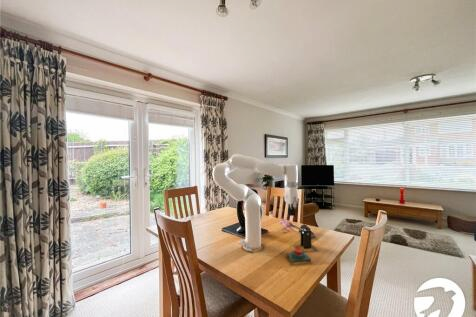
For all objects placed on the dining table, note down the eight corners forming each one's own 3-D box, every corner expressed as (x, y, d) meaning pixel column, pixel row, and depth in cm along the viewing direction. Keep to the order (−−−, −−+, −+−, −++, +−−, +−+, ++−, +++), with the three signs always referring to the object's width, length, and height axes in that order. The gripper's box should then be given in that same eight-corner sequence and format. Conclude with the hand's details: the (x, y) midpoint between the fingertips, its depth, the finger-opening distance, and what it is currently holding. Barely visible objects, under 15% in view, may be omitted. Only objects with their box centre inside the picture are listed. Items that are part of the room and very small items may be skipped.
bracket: (300, 252, 117) (300, 232, 117) (295, 246, 125) (295, 227, 125) (317, 251, 119) (316, 231, 118) (310, 245, 127) (310, 226, 126)
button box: (292, 264, 104) (292, 257, 104) (286, 257, 112) (286, 250, 112) (310, 263, 106) (310, 255, 105) (304, 255, 113) (303, 248, 113)
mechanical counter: (311, 224, 147) (298, 222, 147) (319, 229, 134) (304, 226, 134) (309, 234, 146) (296, 232, 146) (317, 240, 134) (302, 237, 133)
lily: (297, 235, 145) (298, 221, 149) (284, 231, 141) (286, 217, 145) (286, 234, 155) (287, 222, 159) (274, 231, 151) (276, 218, 155)
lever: (291, 227, 118) (293, 224, 118) (288, 224, 123) (290, 221, 123) (308, 236, 119) (310, 233, 120) (304, 233, 124) (306, 229, 125)
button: (296, 255, 107) (296, 252, 107) (293, 252, 110) (293, 249, 110) (303, 254, 107) (302, 251, 107) (300, 251, 111) (300, 248, 111)
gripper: (280, 182, 128) (281, 211, 128) (290, 186, 112) (290, 219, 112) (292, 182, 129) (292, 211, 129) (302, 186, 113) (303, 218, 113)
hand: (291, 214), depth 121 cm, fingers closed
